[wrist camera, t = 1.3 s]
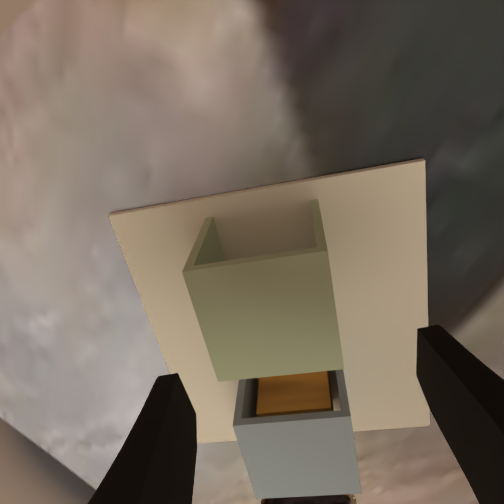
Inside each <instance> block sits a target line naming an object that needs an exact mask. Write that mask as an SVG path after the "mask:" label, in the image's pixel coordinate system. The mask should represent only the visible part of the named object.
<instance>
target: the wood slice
mask: <svg viewBox="0 0 504 504" xmlns="http://www.w3.org/2000/svg"><path fill="white" fill-rule="evenodd" d="M353 497H354V495H352V494H342V495H323V496H304V497H284V498H265V499H262V502H261V504H356V499H353Z"/></svg>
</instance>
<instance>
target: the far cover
mask: <svg viewBox="0 0 504 504" xmlns="http://www.w3.org/2000/svg"><path fill="white" fill-rule="evenodd" d="M336 376H337V383H338V390H339V397H340V404H341V410H338V411H326V412H314V413H302V414H290V415H278V416H266V417H257V415H256V411H257V398H258V386H259V384H258V380H257V378H251V379H241V380H239V383H238V390H237V397H236V405H235V412H234V419H233V429H234V432H235V435H236V438H237V441H238V444H239V447H240V450H241V453H242V456H243V459H244V462H245V465H246V468H247V471H248V474H249V477H250V480H251V483H252V486H253V490H254V493H255V496H256V499H265V498H284V497H304V496H323V495H342V494H362V492H361V484H360V477H359V470H358V463H357V456H356V449H355V442H354V434H353V427H352V420H351V414H350V408H349V402H348V396H347V390H346V384H345V378H344V372H343V369H341V370H336Z"/></svg>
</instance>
